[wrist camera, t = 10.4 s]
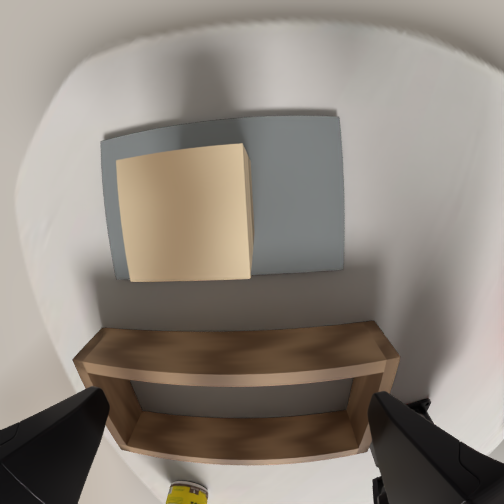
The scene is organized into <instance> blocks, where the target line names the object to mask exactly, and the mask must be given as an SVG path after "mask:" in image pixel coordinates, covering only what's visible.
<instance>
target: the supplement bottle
mask: <svg viewBox="0 0 504 504" xmlns="http://www.w3.org/2000/svg"><path fill="white" fill-rule="evenodd" d="M207 499H208V491H207V489H206V488H204V487H203V486H201V485H198V484H196V483H192V482H188V481H175V482H173V483H172V484H171V486H170V489H169V493H168V497H167V500H166V504H207Z"/></svg>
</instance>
